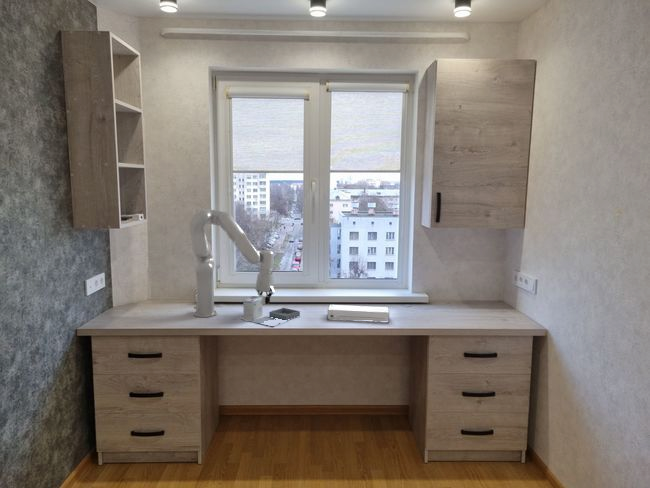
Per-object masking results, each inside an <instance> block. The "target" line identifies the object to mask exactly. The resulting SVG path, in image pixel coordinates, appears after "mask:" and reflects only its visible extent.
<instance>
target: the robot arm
mask: <svg viewBox="0 0 650 488" xmlns="http://www.w3.org/2000/svg"><path fill="white" fill-rule="evenodd" d="M207 225H213V226H219V227H220V228H221V229H222V231H223V232H224V233H225V234H226V236H227V237H228V238H229V239H230V240H231V243H233V244H234V246H235V247H236V248H237V250H239V252H240V253H241V255H242V256H243V257H244V259H245V260H246V261H247V263H249V264H250V265H256V264H258V263H259V268H258V271H259V273H258V274H257V277H256V284H255V288H254V289H255V290H256V293H257V296H259V295H264V293H265V295H266V296H267V297H266V299H265V304H264V305H268V303H269V304H270V303H271V296H272V295H274V294H275V293H276V292H275V289H274V275H273V270H274V269H273V268H274V254H275V253H274V252H273V251H272V250H265V249H264V250H260V249H256V248H255V247H254V245H253V244H252V243H251V241H250V239H248V236H247V235H246V233H245V232H244V231H245V230H244V229H242V227H241V226H240V225H239V224H238V222H237V221H236V220H235V218H234V217H233V215H232V214H231V213H230V212H226V211H221V210H215V209H208V208H203V209H200V210H199V211H197V212H196V213H194V214H193V215H192V217H191V218H190V220H189V226H188V230H189V234H190V241H191V246H192V252H193V254H194V255H195V258H196V266H195V282H196V283H195V284H196V286H195V287H196V291H195V293H196V305H195V306H194V307H193V309H194V310H195V312H193V315H194V316H195V317H198V318H209V317H214V316H216V315H217V314H218V311H217V310H215V290H214V289H215V286H214V283H215V282H214V269H215V259H214V254H213V251H212V245H211V243H210V242H209V241H208V238H207V232H206V226H207Z"/></svg>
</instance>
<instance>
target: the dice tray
mask: <svg viewBox="0 0 650 488" xmlns="http://www.w3.org/2000/svg"><path fill="white" fill-rule="evenodd" d="M300 313H301V311H300V310H296V309H291V308H288V307H281V308H278V309H275V310H271V311H269V312H268V314H269V316H268V317H273V318H278V319H282V320H287V321H289V320H288V319H290V320H292V319H291V318H293V319H295V318H294V317H296V318H298V317H297V316H299V317H300V315H301V314H300Z"/></svg>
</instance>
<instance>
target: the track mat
mask: <svg viewBox="0 0 650 488" xmlns="http://www.w3.org/2000/svg"><path fill="white" fill-rule="evenodd" d="M239 319H240V320H242V319H243V320H242V321H246V320H247V321H246V322H250V321H251V322H250V323H254V322H256V323H255V324H258V323H260V324H259V325H261V323H264V321H268V320H274V319H275V318H271V317H269V316H267V315H263V314H262V316H260V317H258V318H256V319H255V320H248V319H244V316H242V317H240V318H239ZM275 320H276V319H275Z"/></svg>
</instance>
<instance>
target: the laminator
mask: <svg viewBox="0 0 650 488" xmlns="http://www.w3.org/2000/svg"><path fill="white" fill-rule="evenodd" d="M327 319H342V320H341V321H346V320H373V321H390V308H389V306H388V307H387V306H366V305H365V306H364V305H347V304H346V305H344V304H329V306H328V308H327Z"/></svg>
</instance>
